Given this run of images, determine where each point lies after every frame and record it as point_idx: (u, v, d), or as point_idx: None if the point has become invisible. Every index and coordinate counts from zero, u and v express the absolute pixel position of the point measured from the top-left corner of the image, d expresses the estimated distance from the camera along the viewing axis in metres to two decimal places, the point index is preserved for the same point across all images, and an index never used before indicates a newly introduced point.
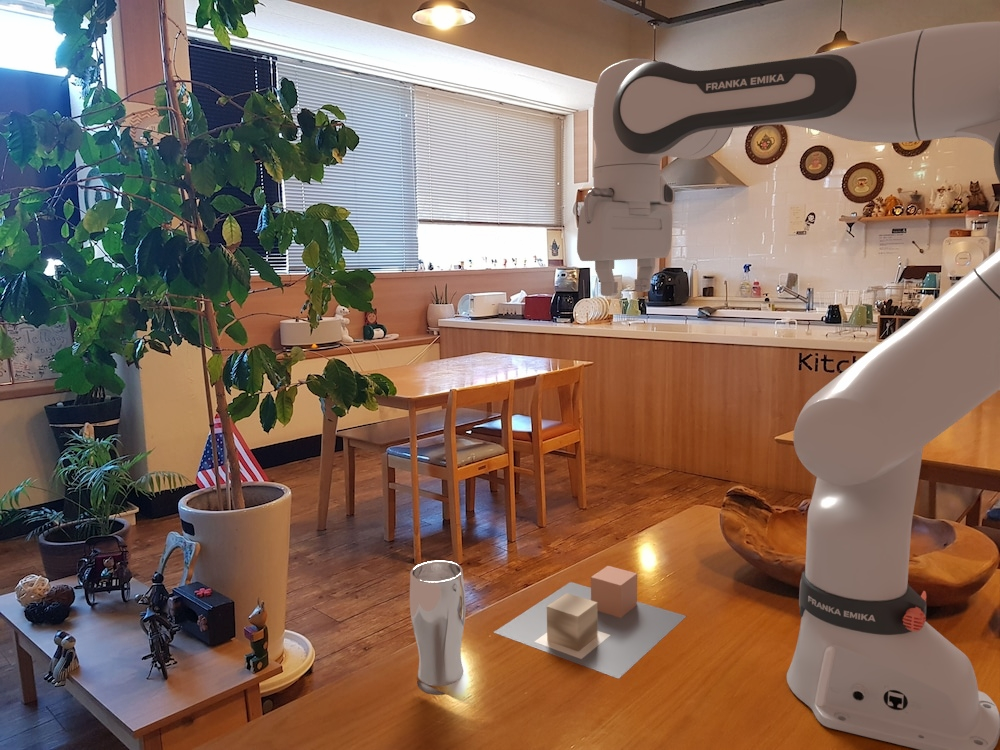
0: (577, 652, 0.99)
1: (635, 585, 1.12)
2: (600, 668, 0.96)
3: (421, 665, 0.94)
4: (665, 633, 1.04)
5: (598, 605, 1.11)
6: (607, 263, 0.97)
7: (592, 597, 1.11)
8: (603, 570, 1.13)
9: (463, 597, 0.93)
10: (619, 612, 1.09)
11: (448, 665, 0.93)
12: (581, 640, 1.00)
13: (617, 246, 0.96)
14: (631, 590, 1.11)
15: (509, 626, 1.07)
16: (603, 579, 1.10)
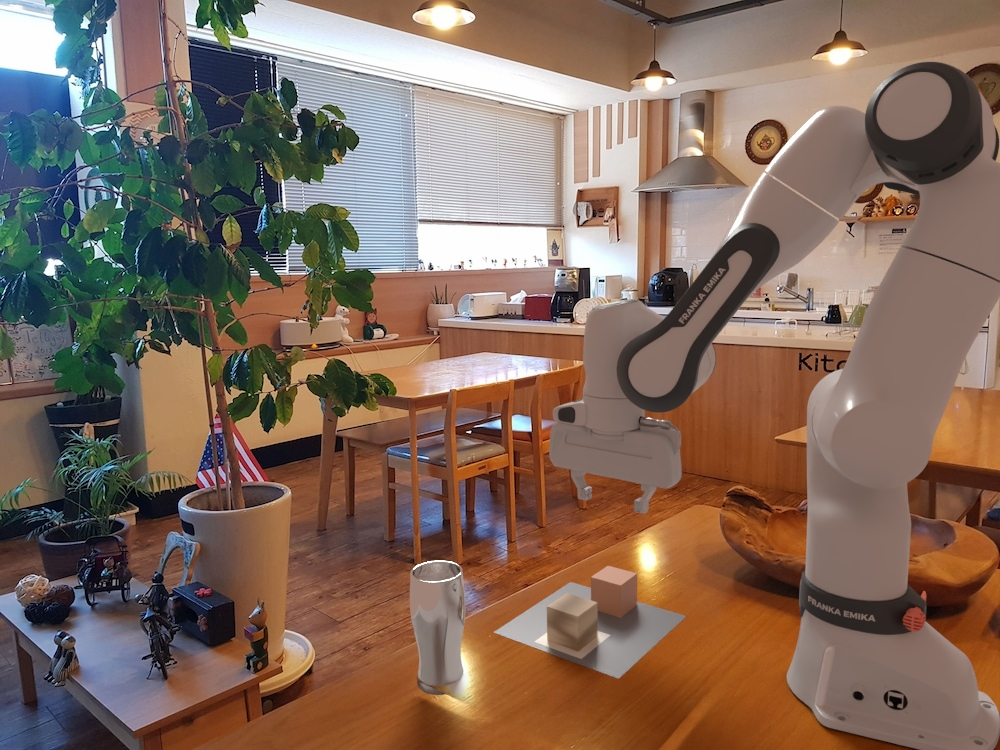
0: (577, 652, 0.99)
1: (635, 585, 1.12)
2: (600, 668, 0.96)
3: (421, 665, 0.94)
4: (665, 633, 1.04)
5: (598, 605, 1.11)
6: None
7: (592, 597, 1.11)
8: (603, 570, 1.13)
9: (463, 597, 0.93)
10: (619, 612, 1.09)
11: (448, 665, 0.93)
12: (581, 640, 1.00)
13: None
14: (631, 590, 1.11)
15: (509, 626, 1.07)
16: (603, 579, 1.10)
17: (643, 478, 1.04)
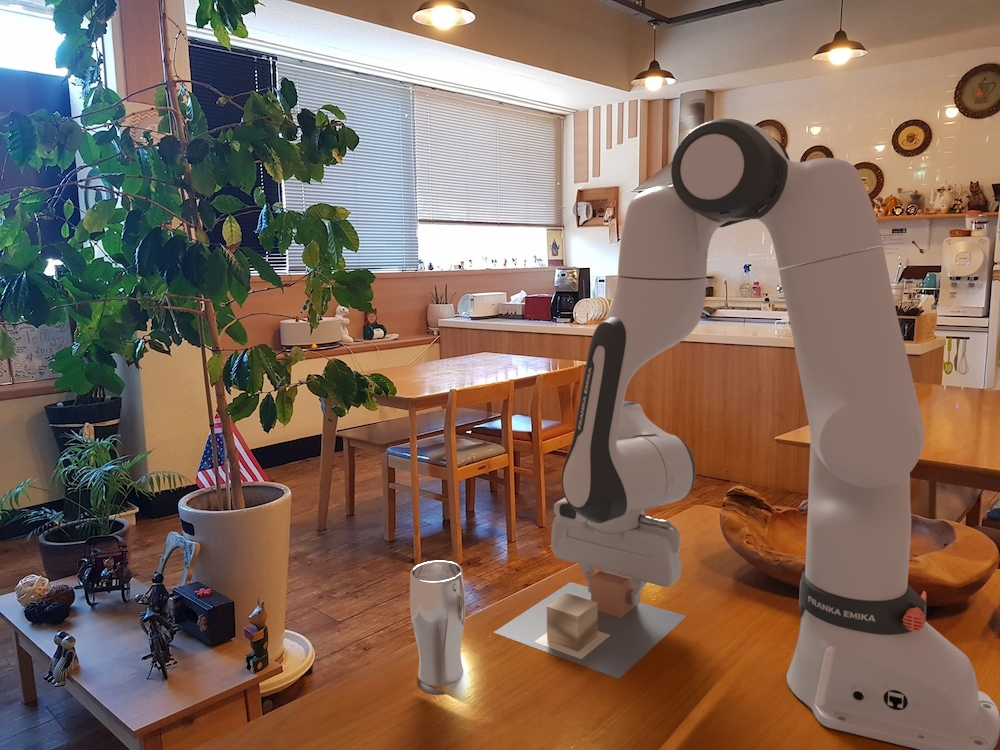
0: (577, 652, 0.99)
1: (635, 585, 1.12)
2: (600, 668, 0.96)
3: (421, 665, 0.94)
4: (665, 633, 1.04)
5: (598, 605, 1.11)
6: None
7: (592, 597, 1.11)
8: (603, 570, 1.13)
9: (463, 597, 0.93)
10: (619, 612, 1.09)
11: (448, 665, 0.93)
12: (581, 640, 1.00)
13: None
14: None
15: (509, 626, 1.07)
16: (603, 579, 1.10)
17: (644, 576, 1.06)
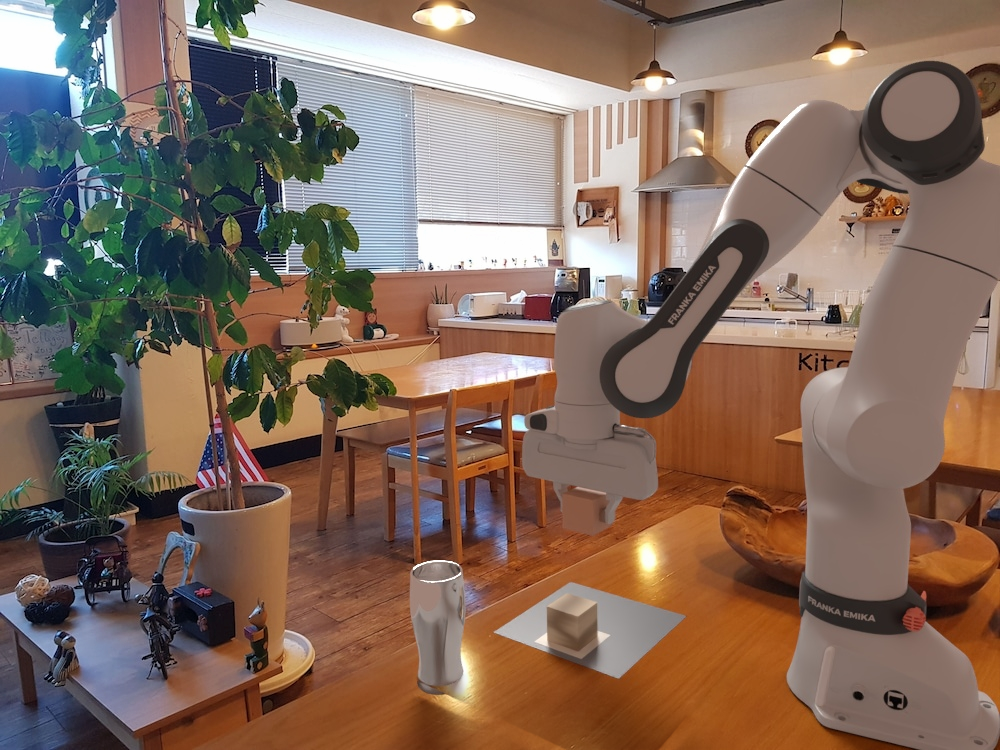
0: (577, 652, 0.99)
1: None
2: (600, 668, 0.96)
3: (421, 665, 0.94)
4: (665, 633, 1.04)
5: (570, 524, 1.03)
6: None
7: (563, 515, 1.04)
8: (576, 488, 1.05)
9: (463, 597, 0.93)
10: (591, 530, 1.01)
11: (448, 665, 0.93)
12: (581, 640, 1.00)
13: None
14: None
15: (509, 626, 1.07)
16: (575, 495, 1.02)
17: (617, 489, 0.98)
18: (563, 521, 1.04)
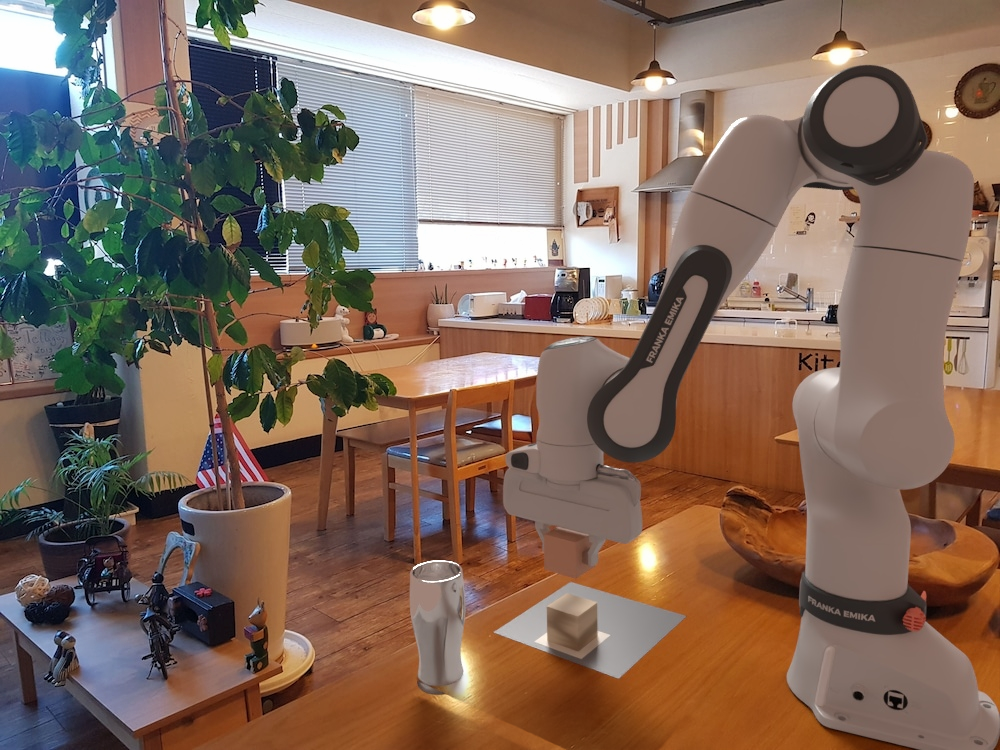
0: (577, 652, 0.99)
1: None
2: (600, 668, 0.96)
3: (421, 665, 0.94)
4: (665, 633, 1.04)
5: (552, 565, 1.00)
6: None
7: (545, 557, 1.01)
8: (559, 528, 1.02)
9: (463, 597, 0.93)
10: (574, 572, 0.98)
11: (448, 665, 0.93)
12: (581, 640, 1.00)
13: None
14: None
15: (509, 626, 1.07)
16: (557, 536, 0.99)
17: (601, 532, 0.95)
18: (545, 562, 1.01)
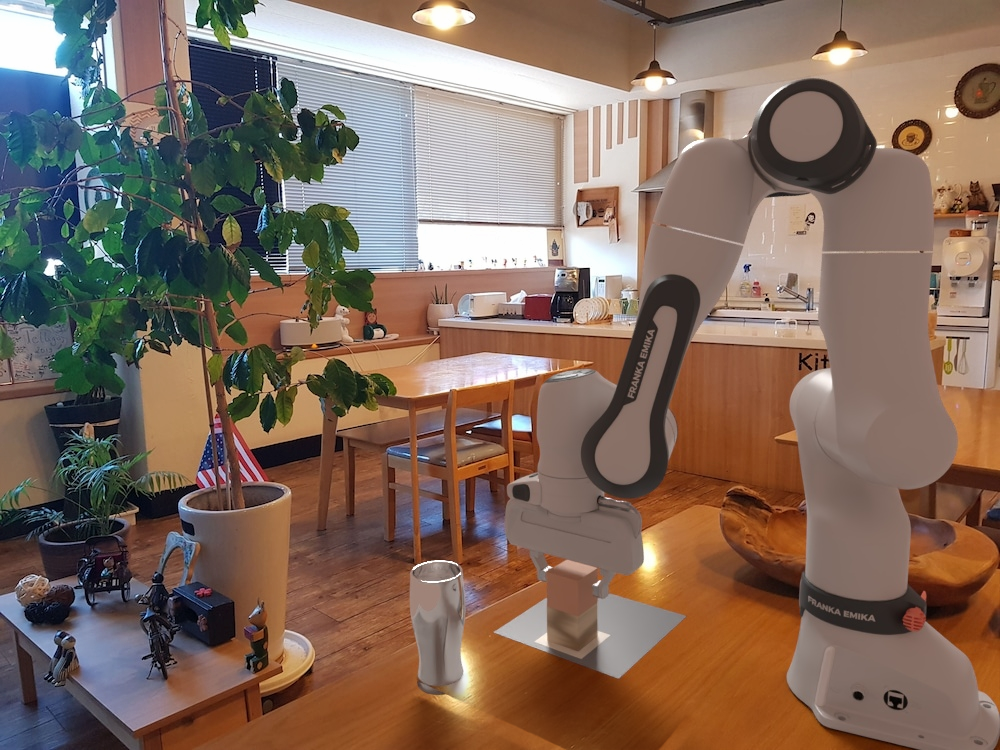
0: (577, 652, 0.99)
1: (595, 581, 1.02)
2: (600, 668, 0.96)
3: (421, 665, 0.94)
4: (665, 633, 1.04)
5: (554, 603, 1.01)
6: None
7: (548, 594, 1.01)
8: (561, 564, 1.03)
9: (463, 597, 0.93)
10: (576, 610, 0.99)
11: (448, 665, 0.93)
12: (581, 640, 1.00)
13: None
14: (590, 586, 1.01)
15: (509, 626, 1.07)
16: (559, 574, 1.00)
17: (603, 564, 0.96)
18: (547, 599, 1.02)
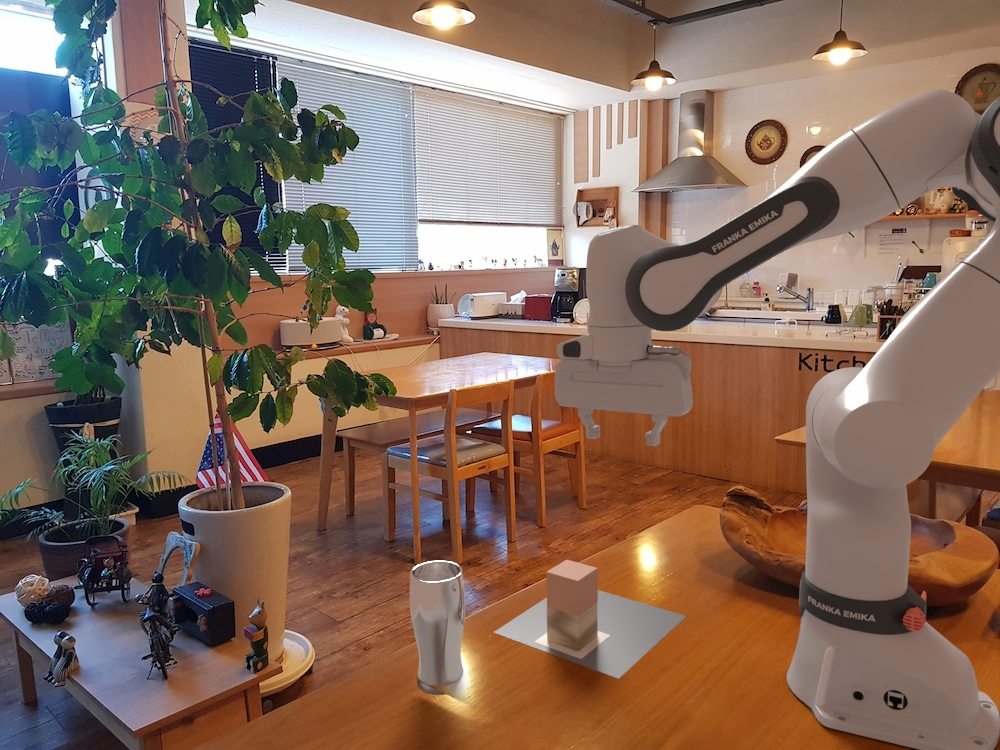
0: (577, 652, 0.99)
1: (595, 581, 1.02)
2: (600, 668, 0.96)
3: (421, 665, 0.94)
4: (665, 633, 1.04)
5: (554, 603, 1.01)
6: None
7: (548, 594, 1.01)
8: (561, 564, 1.03)
9: (463, 597, 0.93)
10: (576, 610, 0.99)
11: (448, 665, 0.93)
12: (581, 640, 1.00)
13: None
14: (590, 586, 1.01)
15: (509, 626, 1.07)
16: (559, 574, 1.00)
17: (654, 408, 1.01)
18: (547, 599, 1.02)
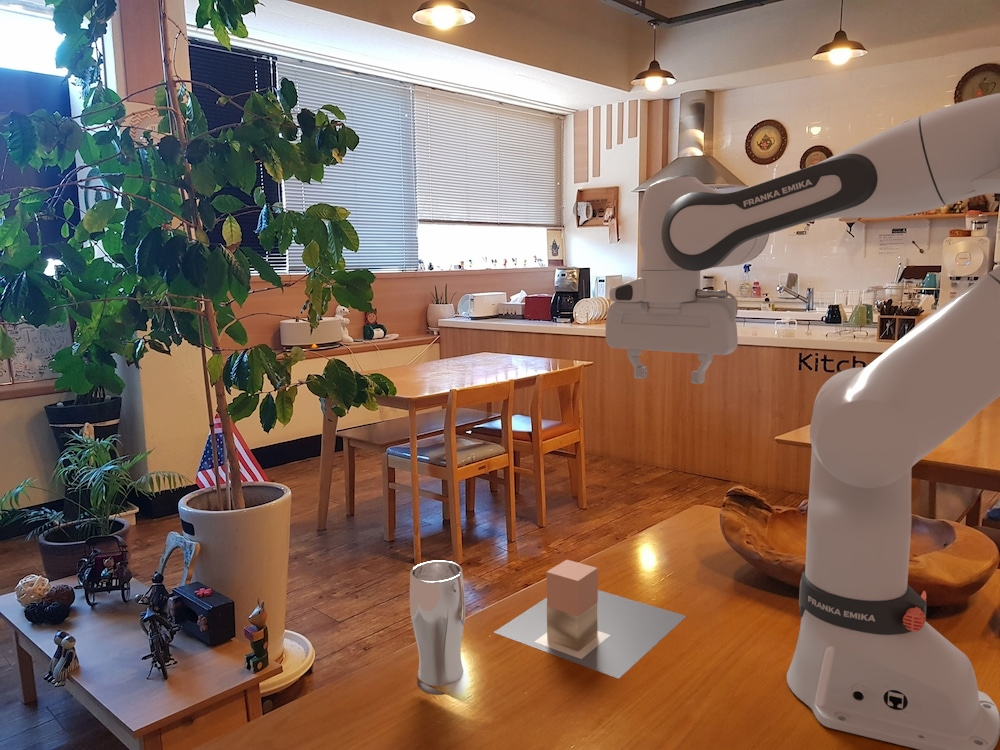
0: (577, 652, 0.99)
1: (595, 581, 1.02)
2: (600, 668, 0.96)
3: (421, 665, 0.94)
4: (665, 633, 1.04)
5: (554, 603, 1.01)
6: (712, 355, 1.10)
7: (548, 594, 1.01)
8: (561, 564, 1.03)
9: (463, 597, 0.93)
10: (576, 610, 0.99)
11: (448, 665, 0.93)
12: (581, 640, 1.00)
13: None
14: (590, 586, 1.01)
15: (509, 626, 1.07)
16: (559, 574, 1.00)
17: (701, 347, 1.08)
18: (547, 599, 1.02)
